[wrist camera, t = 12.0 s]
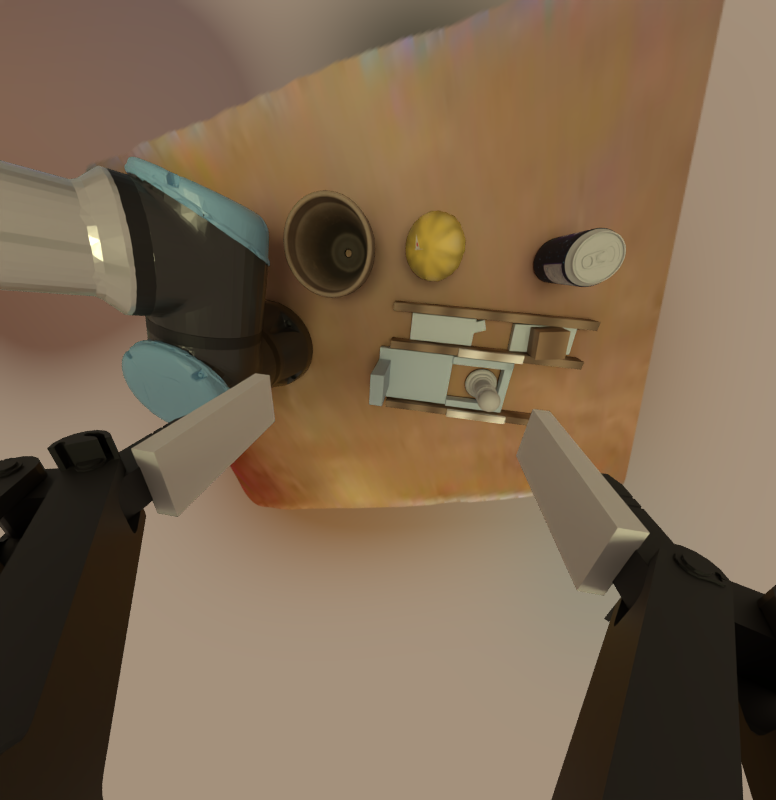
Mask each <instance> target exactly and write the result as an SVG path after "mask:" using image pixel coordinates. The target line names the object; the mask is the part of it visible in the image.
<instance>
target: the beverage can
mask: <svg viewBox="0 0 776 800" xmlns="http://www.w3.org/2000/svg"><path fill="white" fill-rule="evenodd" d="M625 253H626V246H625V242H624V240H623V238H622V237H621V236H620V235H619V234H617V233H615V232H614V231H612V230H610V229H607V228H596V229H591V230H587V231H583V232H579V233H574V234H570V235H566V236H562V237H557V238H554V239H551V240H549V241H548V242H546V243H545V244H544V245H543V246H542V247H541V248H540V249H539V251H538V252H537V254H536V257H535V260H534V271H535V273H536V275H537V277H538V278H539V279H540V280H542V281H544V282H548V283H556V284H564V285H571V286H579V287H589V286H594V285H596V284H599V283H601V282H602V281H604V280H606V279H608V278H609V277H611V276H612V275H613V274H614V273H615V272H616V271H617V270H618V269H619V268H620V266H621V264H622V263H623V260H624V258H625Z"/></svg>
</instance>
